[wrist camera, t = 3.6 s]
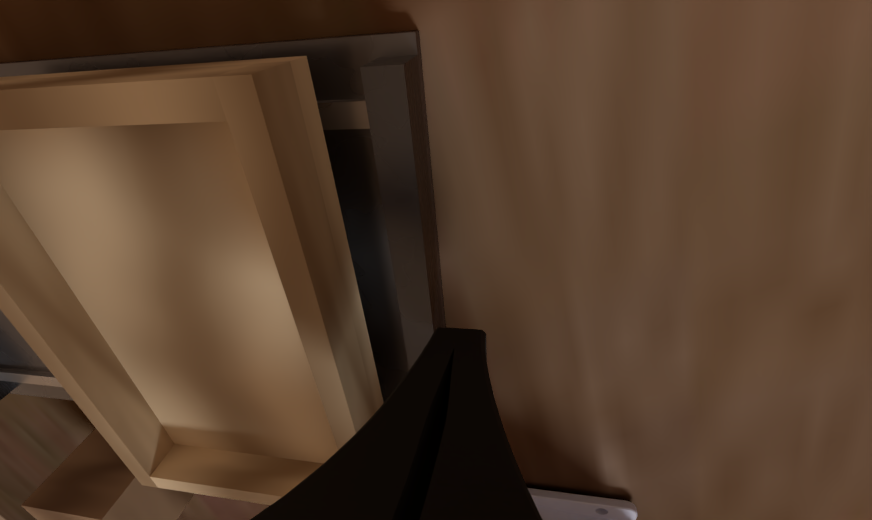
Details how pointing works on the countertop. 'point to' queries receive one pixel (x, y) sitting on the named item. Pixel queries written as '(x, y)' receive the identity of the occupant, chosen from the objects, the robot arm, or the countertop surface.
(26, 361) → the rail base
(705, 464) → the countertop surface
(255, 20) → the countertop surface
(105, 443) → the part block
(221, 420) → the shallow wooden tray
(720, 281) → the countertop surface
